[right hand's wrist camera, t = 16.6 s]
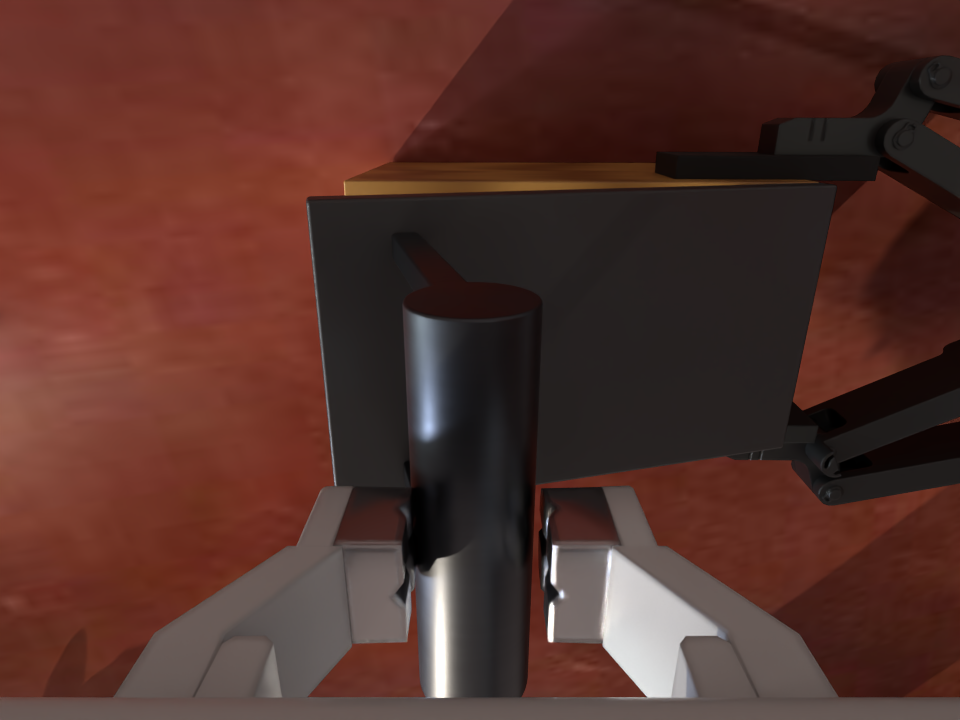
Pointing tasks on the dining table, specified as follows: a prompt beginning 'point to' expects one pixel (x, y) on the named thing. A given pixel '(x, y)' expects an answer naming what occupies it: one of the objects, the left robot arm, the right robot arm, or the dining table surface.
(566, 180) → the chest
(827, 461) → the left robot arm
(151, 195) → the dining table surface
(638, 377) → the lid
